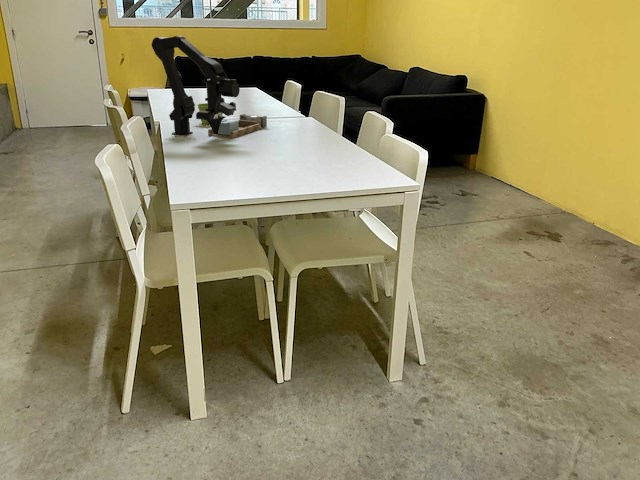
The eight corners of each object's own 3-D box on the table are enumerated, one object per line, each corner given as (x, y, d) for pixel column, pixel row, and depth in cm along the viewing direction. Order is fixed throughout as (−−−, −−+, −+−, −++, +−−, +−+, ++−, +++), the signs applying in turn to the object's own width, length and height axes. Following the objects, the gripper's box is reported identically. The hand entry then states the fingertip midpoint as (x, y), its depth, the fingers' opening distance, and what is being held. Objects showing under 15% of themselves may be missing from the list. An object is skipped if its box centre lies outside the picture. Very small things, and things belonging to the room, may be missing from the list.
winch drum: (262, 128, 242) (262, 117, 240) (239, 125, 246) (239, 114, 245) (267, 126, 246) (267, 116, 244) (244, 124, 250) (244, 113, 248)
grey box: (230, 135, 222) (229, 123, 221) (215, 133, 225) (215, 121, 223) (238, 132, 228) (238, 120, 227) (224, 130, 231) (224, 119, 229)
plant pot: (214, 125, 245) (213, 106, 242) (195, 124, 247) (194, 105, 243) (221, 122, 254) (220, 103, 251) (202, 121, 255) (201, 102, 252)
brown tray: (232, 138, 220) (232, 130, 219) (208, 135, 224) (207, 127, 223) (260, 129, 241) (260, 121, 239) (237, 126, 245) (237, 119, 244)
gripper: (218, 99, 202) (220, 140, 208) (243, 94, 218) (244, 132, 224) (194, 97, 206) (196, 137, 212) (220, 92, 222) (222, 129, 228)
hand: (216, 134), depth 219 cm, fingers closed
